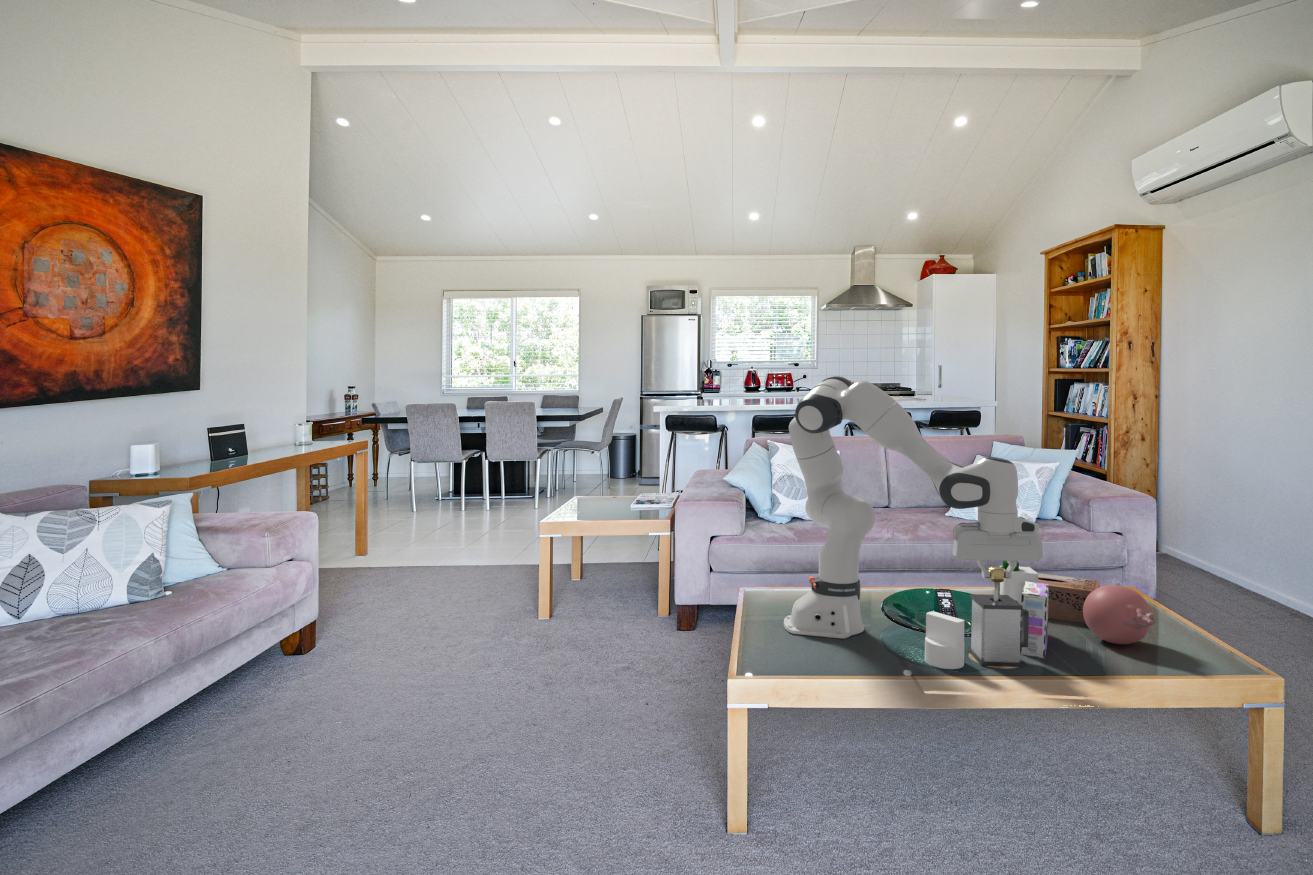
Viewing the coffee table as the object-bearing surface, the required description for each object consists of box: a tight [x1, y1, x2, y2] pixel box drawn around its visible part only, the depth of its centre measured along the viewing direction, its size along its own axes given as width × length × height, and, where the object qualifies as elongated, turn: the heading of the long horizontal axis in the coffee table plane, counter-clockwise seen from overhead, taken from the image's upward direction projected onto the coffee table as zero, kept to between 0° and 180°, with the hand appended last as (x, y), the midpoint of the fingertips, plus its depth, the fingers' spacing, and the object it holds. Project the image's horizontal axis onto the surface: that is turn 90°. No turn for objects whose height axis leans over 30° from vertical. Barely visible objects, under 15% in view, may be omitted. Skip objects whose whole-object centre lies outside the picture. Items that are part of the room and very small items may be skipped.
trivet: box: [968, 652, 1022, 670], centre depth 171 cm, size 12×12×1 cm
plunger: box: [987, 566, 1005, 601], centre depth 170 cm, size 6×6×17 cm
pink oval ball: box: [1083, 584, 1157, 645], centre depth 180 cm, size 15×20×15 cm
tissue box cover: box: [998, 572, 1100, 624], centre depth 210 cm, size 26×14×10 cm, turn 55°
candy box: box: [1020, 581, 1049, 659], centre depth 178 cm, size 14×6×16 cm, turn 148°
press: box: [967, 593, 1029, 668], centre depth 170 cm, size 12×10×15 cm
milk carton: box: [999, 561, 1039, 628], centre depth 191 cm, size 9×9×20 cm
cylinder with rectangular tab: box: [924, 610, 965, 670], centre depth 169 cm, size 9×9×12 cm
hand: (996, 577), depth 170 cm, fingers closed on plunger, 4 cm apart
